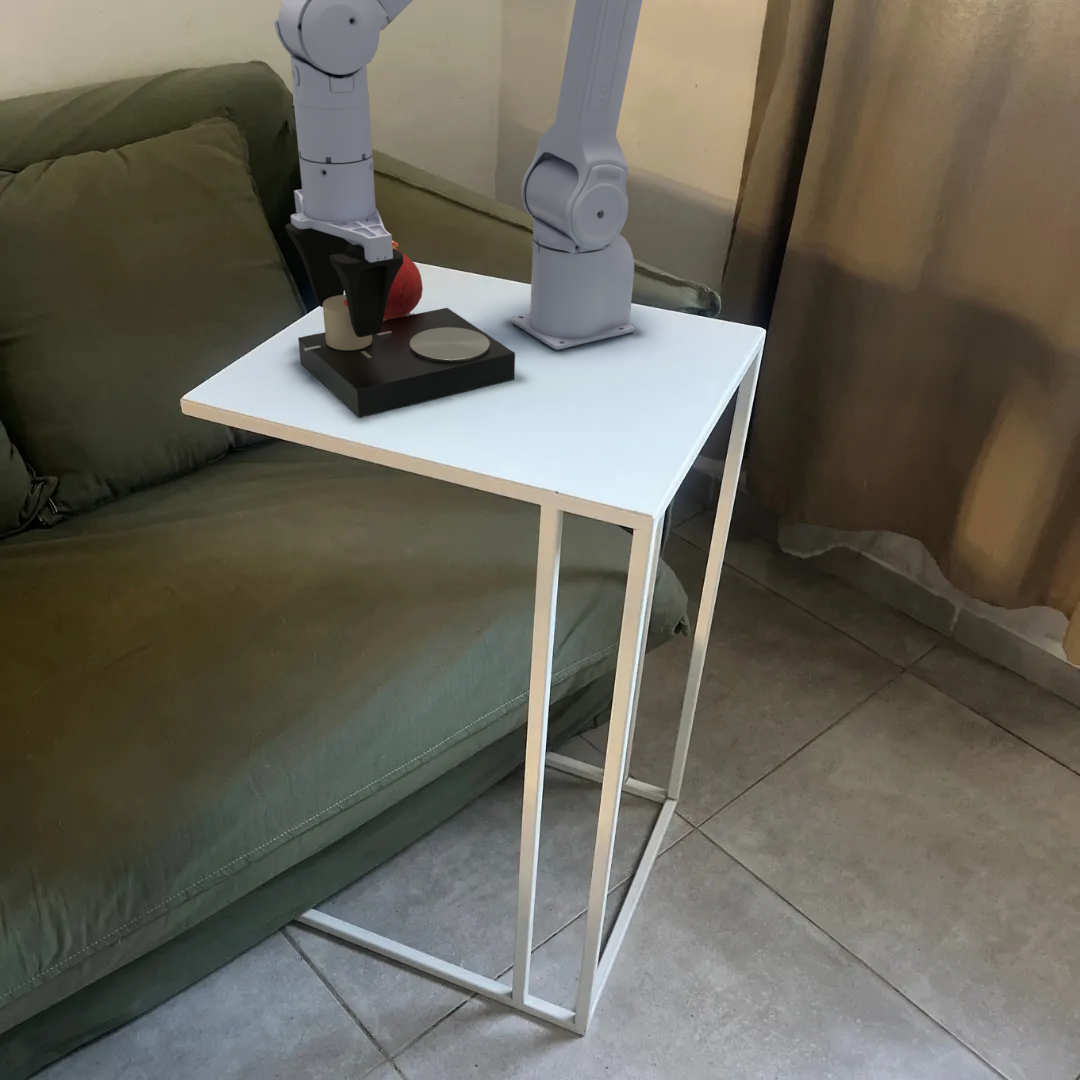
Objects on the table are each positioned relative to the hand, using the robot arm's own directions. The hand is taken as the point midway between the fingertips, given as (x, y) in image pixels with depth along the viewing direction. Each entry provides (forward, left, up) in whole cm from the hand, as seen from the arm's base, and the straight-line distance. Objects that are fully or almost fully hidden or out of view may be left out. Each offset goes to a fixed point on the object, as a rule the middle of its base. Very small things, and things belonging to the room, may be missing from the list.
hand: (348, 318), depth 87 cm
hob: (-4, +3, -5) cm, 7 cm away
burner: (-7, +5, -2) cm, 9 cm away
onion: (-8, -8, -5) cm, 12 cm away
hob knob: (0, 0, -2) cm, 2 cm away
